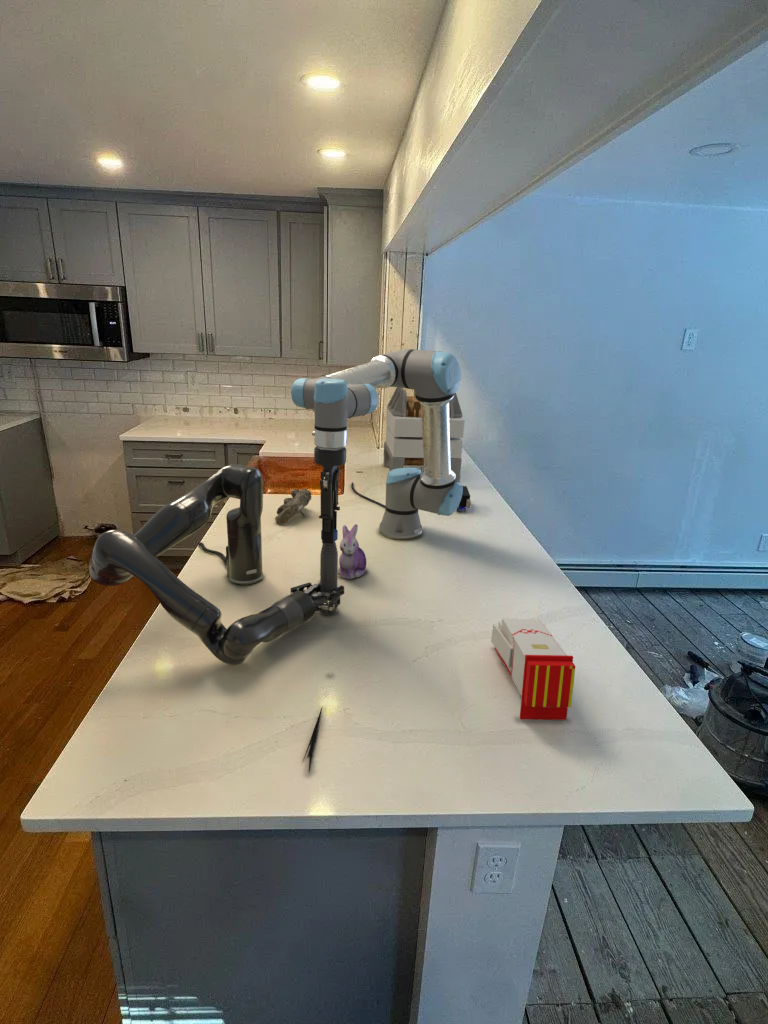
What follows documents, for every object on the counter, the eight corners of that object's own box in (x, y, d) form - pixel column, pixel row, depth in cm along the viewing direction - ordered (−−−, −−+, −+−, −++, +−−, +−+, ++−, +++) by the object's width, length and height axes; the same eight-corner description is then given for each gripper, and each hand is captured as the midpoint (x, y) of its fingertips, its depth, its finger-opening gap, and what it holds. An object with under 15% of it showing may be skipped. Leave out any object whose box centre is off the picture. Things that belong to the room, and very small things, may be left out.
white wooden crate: (382, 463, 289) (386, 382, 275) (445, 464, 293) (451, 384, 279) (390, 482, 257) (394, 392, 243) (460, 483, 261) (468, 394, 247)
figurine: (344, 582, 162) (345, 534, 157) (330, 568, 171) (331, 521, 166) (373, 577, 167) (375, 529, 162) (359, 563, 175) (360, 517, 170)
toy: (537, 603, 136) (584, 662, 106) (532, 655, 138) (577, 726, 109) (487, 602, 135) (520, 661, 106) (483, 654, 138) (514, 725, 109)
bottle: (339, 613, 147) (340, 535, 139) (323, 616, 145) (324, 537, 137) (333, 605, 150) (334, 529, 143) (317, 608, 148) (318, 531, 141)
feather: (331, 679, 122) (336, 673, 122) (307, 777, 96) (313, 769, 95) (324, 675, 122) (329, 669, 121) (298, 772, 95) (304, 764, 95)
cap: (318, 539, 140) (318, 532, 139) (326, 534, 143) (326, 526, 142) (332, 543, 138) (332, 535, 137) (340, 537, 142) (340, 530, 141)
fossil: (280, 494, 222) (309, 474, 217) (296, 512, 224) (325, 493, 219) (264, 519, 202) (296, 497, 197) (282, 539, 205) (313, 518, 200)
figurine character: (470, 516, 223) (465, 500, 237) (473, 499, 220) (467, 484, 233) (453, 516, 223) (449, 500, 236) (455, 498, 220) (451, 483, 233)
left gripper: (269, 616, 139) (314, 590, 153) (313, 636, 132) (357, 607, 145) (268, 589, 137) (314, 565, 150) (313, 607, 129) (358, 580, 143)
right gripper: (321, 438, 141) (320, 525, 149) (307, 454, 125) (307, 551, 133) (351, 439, 140) (348, 527, 148) (340, 456, 124) (339, 554, 132)
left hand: (335, 586), depth 148 cm, fingers closed on bottle, 4 cm apart
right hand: (329, 538), depth 141 cm, fingers closed on cap, 4 cm apart
